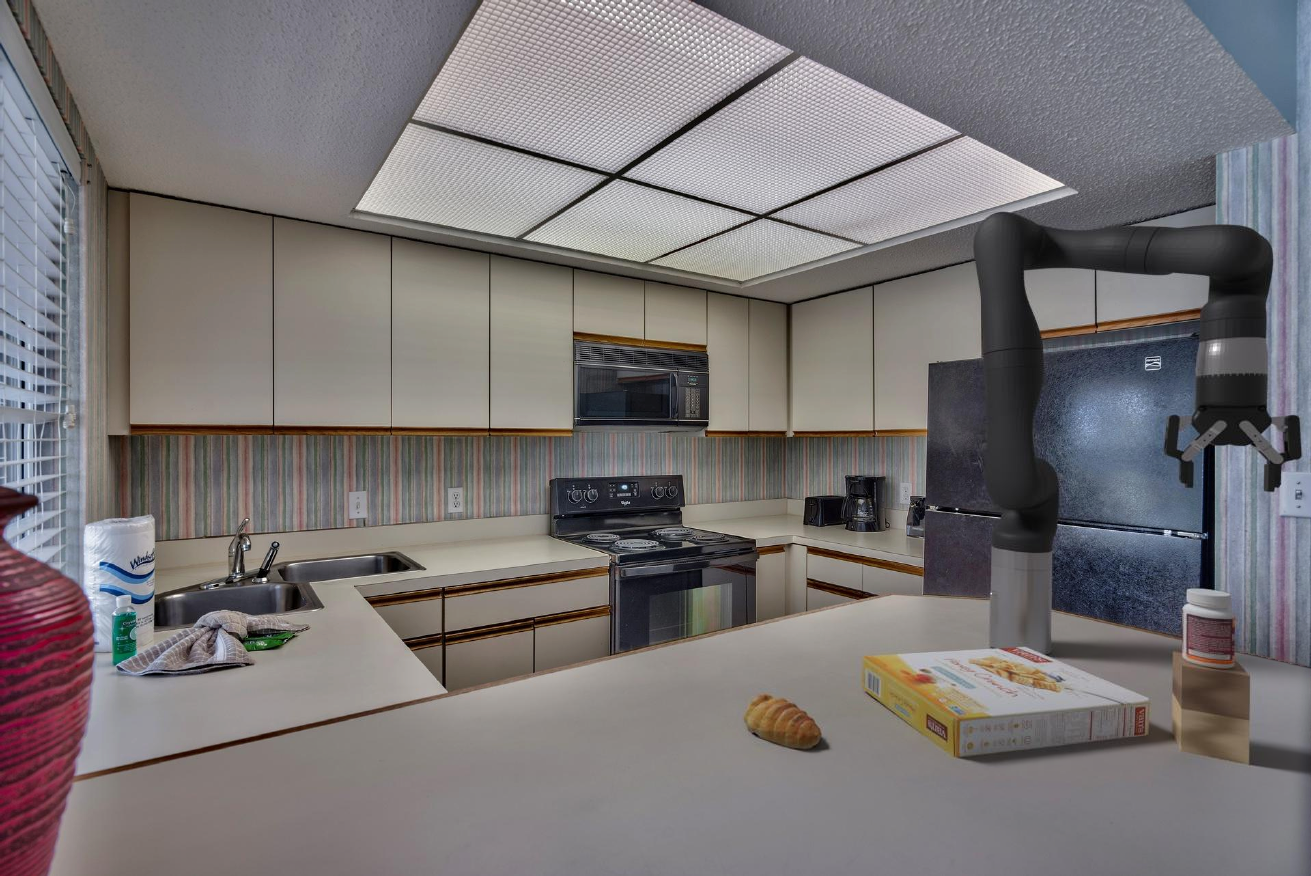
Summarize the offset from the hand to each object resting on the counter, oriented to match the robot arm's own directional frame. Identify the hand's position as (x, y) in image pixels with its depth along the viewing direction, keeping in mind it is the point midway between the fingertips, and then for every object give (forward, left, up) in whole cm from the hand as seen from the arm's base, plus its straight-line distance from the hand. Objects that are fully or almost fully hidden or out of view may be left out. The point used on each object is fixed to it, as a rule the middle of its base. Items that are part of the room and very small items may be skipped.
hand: (1228, 489), depth 91 cm
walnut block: (-5, -19, -25) cm, 32 cm away
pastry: (-50, -42, -30) cm, 72 cm away
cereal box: (-27, -21, -30) cm, 46 cm away
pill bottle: (-5, -19, -20) cm, 28 cm away
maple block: (-5, -19, -30) cm, 36 cm away
